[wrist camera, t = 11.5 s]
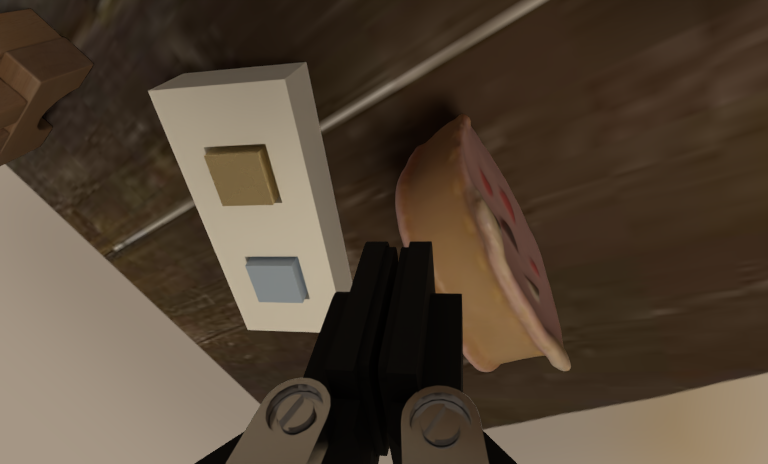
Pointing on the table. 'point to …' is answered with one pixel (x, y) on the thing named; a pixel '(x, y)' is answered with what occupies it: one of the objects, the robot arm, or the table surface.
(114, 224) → the table surface
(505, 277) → the face sculpture
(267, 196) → the brass button
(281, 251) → the button console
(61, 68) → the wooden toy
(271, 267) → the slate-blue button
